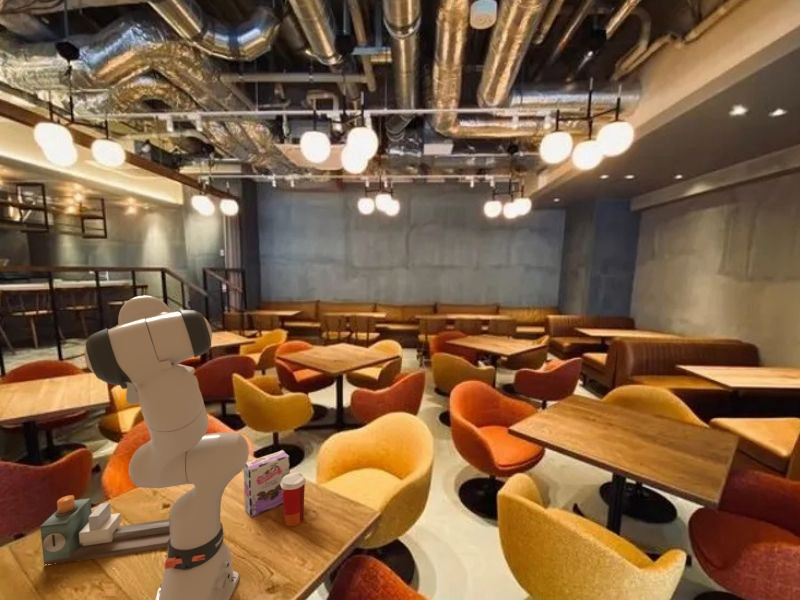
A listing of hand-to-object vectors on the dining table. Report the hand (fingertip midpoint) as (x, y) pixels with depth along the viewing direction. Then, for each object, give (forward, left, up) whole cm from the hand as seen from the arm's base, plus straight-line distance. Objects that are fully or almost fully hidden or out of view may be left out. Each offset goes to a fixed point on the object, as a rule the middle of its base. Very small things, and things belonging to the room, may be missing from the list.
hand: (165, 414), depth 120 cm
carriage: (-12, +14, -31) cm, 36 cm away
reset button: (-12, +22, -21) cm, 33 cm away
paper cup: (-14, -40, -33) cm, 54 cm away
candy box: (-4, -31, -33) cm, 46 cm away
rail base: (-12, +10, -33) cm, 37 cm away
